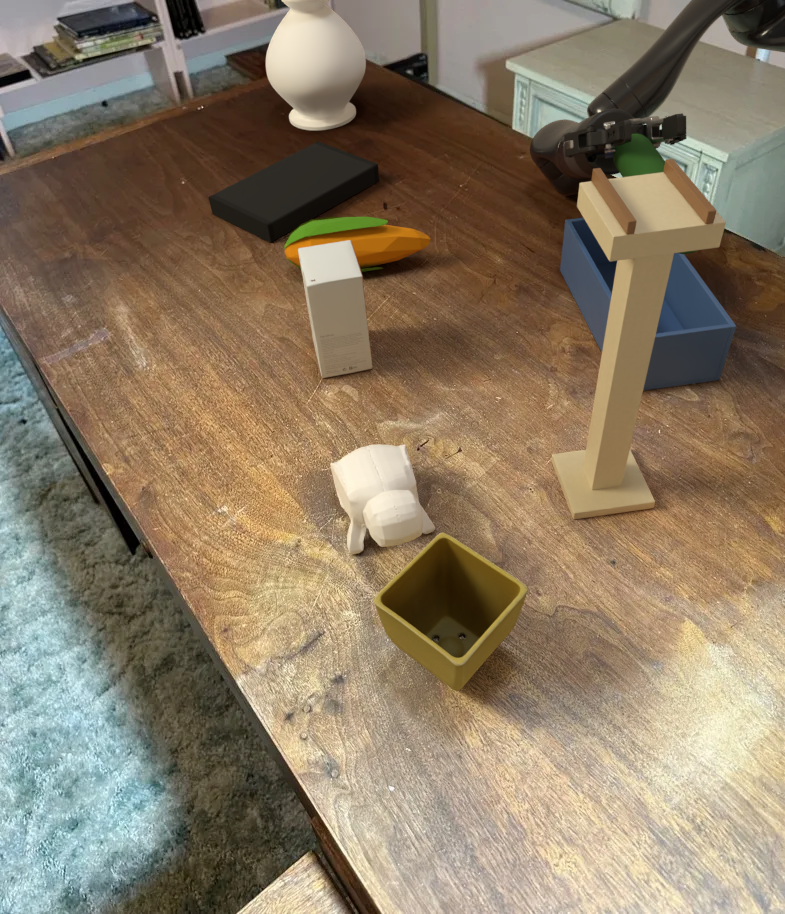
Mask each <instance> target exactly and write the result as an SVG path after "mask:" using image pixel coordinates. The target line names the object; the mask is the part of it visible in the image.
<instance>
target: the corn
mask: <svg viewBox="0 0 785 914" xmlns="http://www.w3.org/2000/svg"><path fill="white" fill-rule="evenodd" d="M388 222H389V221H388V220H387V219H384V218H379V217H372V216H327V217H319V218H313V219H311V220H310V221H307V222H305V223H303V224H301V225H300V226H299V227H297V228H296V229H294V230H292V231H290V233H289V236H288V237H287V239H286V241H285V243H284V245H283V246H284V247H283V249H284V256H285V258H286V260H287V261H288V262H289V263H290V264H292V266H294V267H296V268H298V269H299V270H301V265H300V260H299V254H298V249H299V248H303V247H309V246H316V245H322V244H328V243H334V242H340V241H347V240H351V242H352V245H353V248H354V251H355V254H356V257H357V260H358V263H359V266H360V269H361V272H362V273H364V272H370V271H377V270H383V269H384V268H383V267H379V266H380V265H384V264H388V263H393V262H398V261H400V260H402V259H404V258H406V257H409V256H411V255H414V254H416V253H418V252H420V251H422V250H424V249H425V248H427V247H428V246H429V245H430V243H431V238H430V236H429V235H428V234H426V233H424V232H423V231H420V230H418V229H415V228H411V227H403V226H396V225H391V224H388ZM375 266H376V267H375Z"/></svg>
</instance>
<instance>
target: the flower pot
mask: <svg viewBox="0 0 785 914" xmlns="http://www.w3.org/2000/svg"><path fill="white" fill-rule="evenodd" d="M528 592H529V587H528V586H527V585H526V584H525V583H524V582H523V581H522V580H520V579H518V578H517V577H516V576H514V575H512V574H510V573H509V572H507V571H506V570H505V569H503V568H501V567H499V566H498V565H496V564H495V563H493V562H492V561H491V560H489V559H487V558H486V557H484V556H482V555H481V554H479V553H478V552H476V551H475V550H474V549H472V548H470V547H469V546H467V545H466V544H465V543H463V542H461V541H460V540H459V539H457V538H455V537H453V536H452V535H450V534H448V533H445V532H443V531H442V532H440V533H438V534H437V535H436V536H435V537H433V538H432V540H430V542H428V543H427V544H426V545H425V547H423V549H421V550H420V551H419V552H418V553H417V554H416V555H415V556H414V557H413V559H412V560H411V561H409V563H407V564H406V565H405V566H404V567H403V568H402V570H400V571H399V572H398V573H397V574H396V575H395V576H394V577H393V578H392V579H391V580H389V582H387V583H386V585H384V586H383V588H381V589H380V591H379V592H378V593H376V595H375V596H374V598H373V603H374V607H375V610H376V611H377V615H378V617H379V620H380V623H381V625H382V628H383V630H384V632H385V633H386V636H387V637H388V638H389V640H390V641H391V642H392V643H393V644H394V646H396V647H397V648H398V649H400V650H401V651H402V652H403V653H404V654H406V655H408V657H410V658H411V659H412V660H414V661H415V662H416V663H418V665H421V666H422V667H423V668H424V669H425V670H427V671H428V672H429V673H431V674H432V675H433V676H434V677H436V678H437V680H439V681H441V682H442V683H443V684H445V685H446V686H447V687H449V688H450V689H451V690H453V691H456V692H457V691H460V690H461V689H463V688H464V687H465V685H466V684H467V683H468V682H469V680H470V679H471V678H473V676H474V675H475V674H476V672H477V671H478V670H479V669H480V667H482V665H483V664H484V663H485V662H486V661H487V660H488V658H489V657H490V656H491V655H492V654H493V653H494V652H495V651H496V649H497V648H498V647H499V646H500V645H501V644H502V643H503V641H505V640H506V638H507V637H508V636H509V635H510V634H511V632H513V631H512V630H513V629H514V627H515V626H516V624H517V623H518V619H519V617H520V614H521V611H522V608H523V606H524V604H525V600H526V597H527V594H528ZM461 635H464V637H465V638H464V639H463V638H462V639H461V638H460V636H461ZM435 637H437V638H438V640H437V641H435V640H434V638H435Z"/></svg>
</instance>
